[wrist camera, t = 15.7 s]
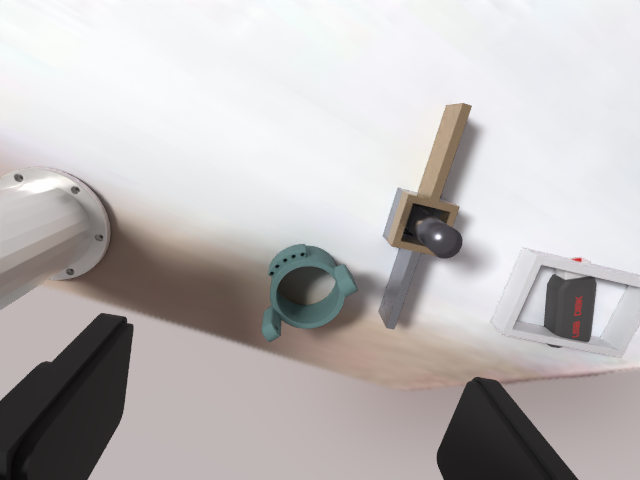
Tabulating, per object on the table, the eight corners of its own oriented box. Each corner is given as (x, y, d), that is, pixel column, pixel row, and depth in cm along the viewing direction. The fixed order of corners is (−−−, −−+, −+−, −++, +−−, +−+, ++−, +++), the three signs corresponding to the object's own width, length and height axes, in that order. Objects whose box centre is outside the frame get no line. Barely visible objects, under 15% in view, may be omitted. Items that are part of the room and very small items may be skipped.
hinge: (403, 316, 48) (413, 333, 44) (360, 308, 47) (366, 324, 43) (474, 113, 41) (494, 112, 37) (425, 99, 40) (439, 96, 36)
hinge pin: (405, 203, 43) (437, 225, 34) (428, 208, 44) (467, 231, 34) (397, 226, 44) (426, 254, 34) (420, 232, 44) (455, 261, 35)
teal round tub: (349, 253, 45) (363, 282, 36) (325, 317, 47) (332, 359, 38) (278, 231, 43) (275, 257, 35) (257, 299, 46) (249, 339, 37)
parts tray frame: (489, 322, 49) (502, 334, 46) (522, 247, 46) (537, 255, 43) (603, 344, 52) (621, 357, 49) (640, 275, 49) (662, 284, 46)
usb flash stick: (542, 341, 51) (556, 352, 48) (548, 260, 47) (563, 268, 45) (578, 335, 51) (594, 346, 48) (586, 255, 48) (603, 262, 45)
